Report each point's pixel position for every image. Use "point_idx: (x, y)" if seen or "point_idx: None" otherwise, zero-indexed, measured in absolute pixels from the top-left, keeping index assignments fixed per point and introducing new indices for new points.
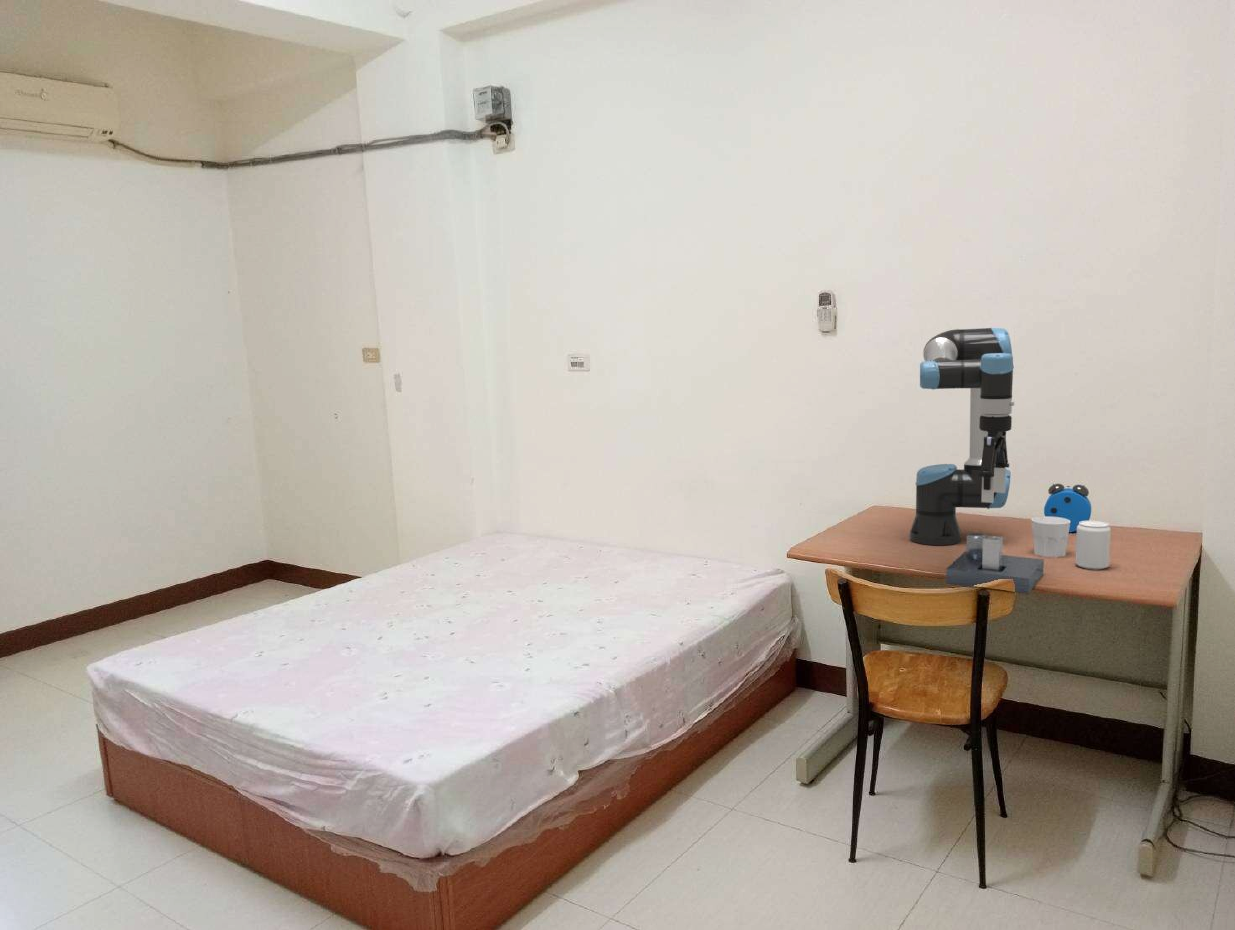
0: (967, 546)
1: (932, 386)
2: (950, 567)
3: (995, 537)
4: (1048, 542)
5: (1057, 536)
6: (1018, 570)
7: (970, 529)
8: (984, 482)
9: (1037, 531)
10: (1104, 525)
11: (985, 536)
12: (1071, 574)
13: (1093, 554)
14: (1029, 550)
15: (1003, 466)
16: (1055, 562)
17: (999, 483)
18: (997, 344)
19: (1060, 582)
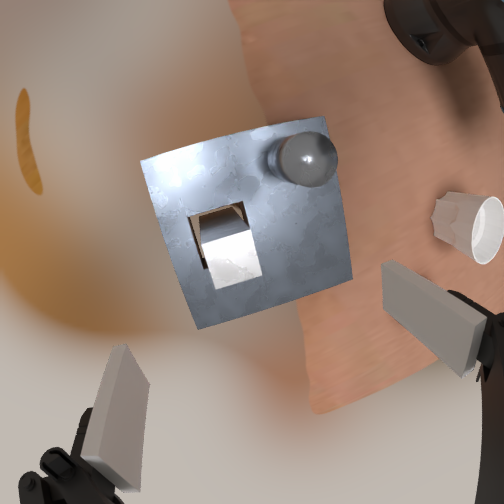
0: (280, 142)
1: None
2: (158, 161)
3: (242, 263)
4: (449, 229)
5: (458, 247)
6: (240, 288)
7: (485, 68)
8: (76, 444)
9: (462, 214)
10: None
11: (234, 234)
12: (358, 300)
13: None
14: (450, 181)
15: (483, 363)
16: (411, 247)
17: (409, 309)
18: None
19: (303, 313)
